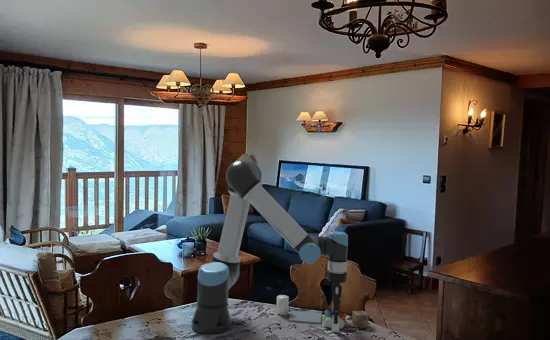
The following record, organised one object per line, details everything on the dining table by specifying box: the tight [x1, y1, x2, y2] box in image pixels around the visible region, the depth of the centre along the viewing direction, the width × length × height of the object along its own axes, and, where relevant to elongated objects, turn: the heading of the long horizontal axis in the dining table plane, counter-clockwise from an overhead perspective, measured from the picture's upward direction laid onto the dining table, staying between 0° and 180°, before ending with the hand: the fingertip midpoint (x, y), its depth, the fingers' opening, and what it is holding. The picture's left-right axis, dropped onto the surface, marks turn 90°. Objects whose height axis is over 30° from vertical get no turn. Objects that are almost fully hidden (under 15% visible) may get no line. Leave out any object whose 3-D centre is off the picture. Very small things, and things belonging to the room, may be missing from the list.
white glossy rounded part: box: [276, 294, 290, 316], centre depth 185 cm, size 5×5×7 cm
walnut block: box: [351, 310, 369, 328], centre depth 175 cm, size 5×5×5 cm
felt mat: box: [288, 310, 323, 325], centre depth 181 cm, size 13×11×1 cm
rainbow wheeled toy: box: [322, 307, 348, 330], centre depth 174 cm, size 8×10×7 cm
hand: (335, 325), depth 174 cm, fingers open, 12 cm apart
